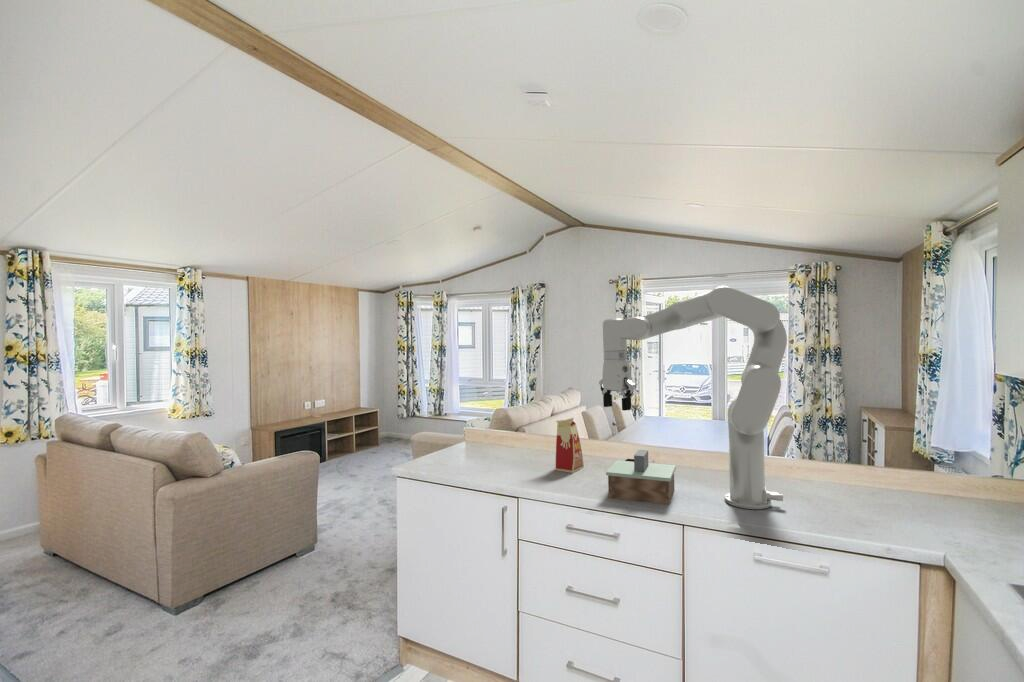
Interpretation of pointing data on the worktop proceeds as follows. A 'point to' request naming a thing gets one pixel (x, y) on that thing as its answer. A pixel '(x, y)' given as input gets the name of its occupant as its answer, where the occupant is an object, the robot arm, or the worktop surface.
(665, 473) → the lid
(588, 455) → the worktop surface
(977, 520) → the worktop surface
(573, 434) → the milk carton
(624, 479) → the box
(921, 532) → the worktop surface
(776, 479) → the worktop surface
